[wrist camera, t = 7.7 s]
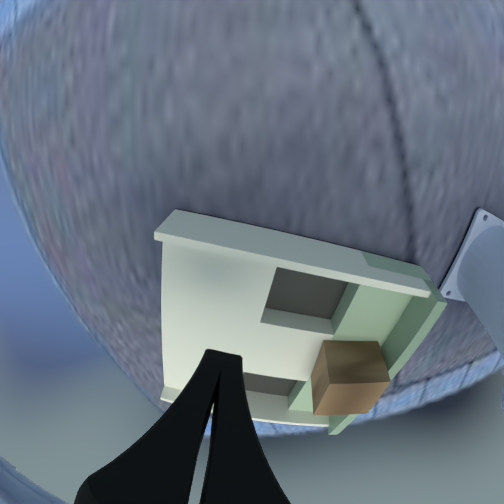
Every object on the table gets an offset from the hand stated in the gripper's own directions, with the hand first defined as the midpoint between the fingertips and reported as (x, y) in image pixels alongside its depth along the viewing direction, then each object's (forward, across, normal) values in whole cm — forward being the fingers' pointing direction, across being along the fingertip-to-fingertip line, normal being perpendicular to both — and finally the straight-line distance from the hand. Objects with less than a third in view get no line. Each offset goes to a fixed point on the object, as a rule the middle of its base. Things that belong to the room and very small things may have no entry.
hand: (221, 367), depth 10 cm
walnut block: (+7, -10, +7) cm, 14 cm away
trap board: (+9, -4, +7) cm, 12 cm away
